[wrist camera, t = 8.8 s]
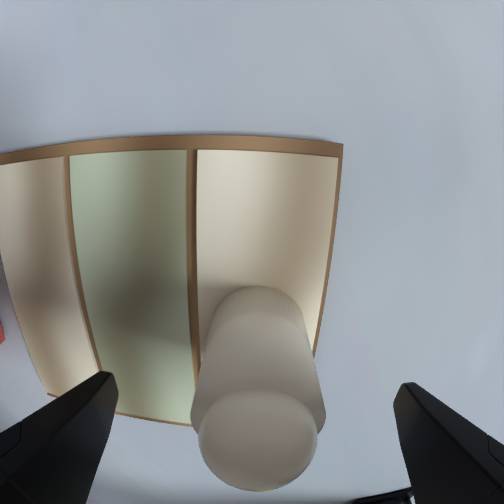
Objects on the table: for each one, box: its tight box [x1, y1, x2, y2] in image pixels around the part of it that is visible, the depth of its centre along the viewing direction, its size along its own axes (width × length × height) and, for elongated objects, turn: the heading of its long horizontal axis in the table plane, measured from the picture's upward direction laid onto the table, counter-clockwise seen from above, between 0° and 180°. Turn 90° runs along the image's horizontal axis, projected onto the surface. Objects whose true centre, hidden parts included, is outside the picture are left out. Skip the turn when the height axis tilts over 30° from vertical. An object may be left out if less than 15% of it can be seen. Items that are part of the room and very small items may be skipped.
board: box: [0, 135, 343, 427], centre depth 12 cm, size 15×14×1 cm
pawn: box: [190, 286, 326, 492], centre depth 9 cm, size 4×4×7 cm
